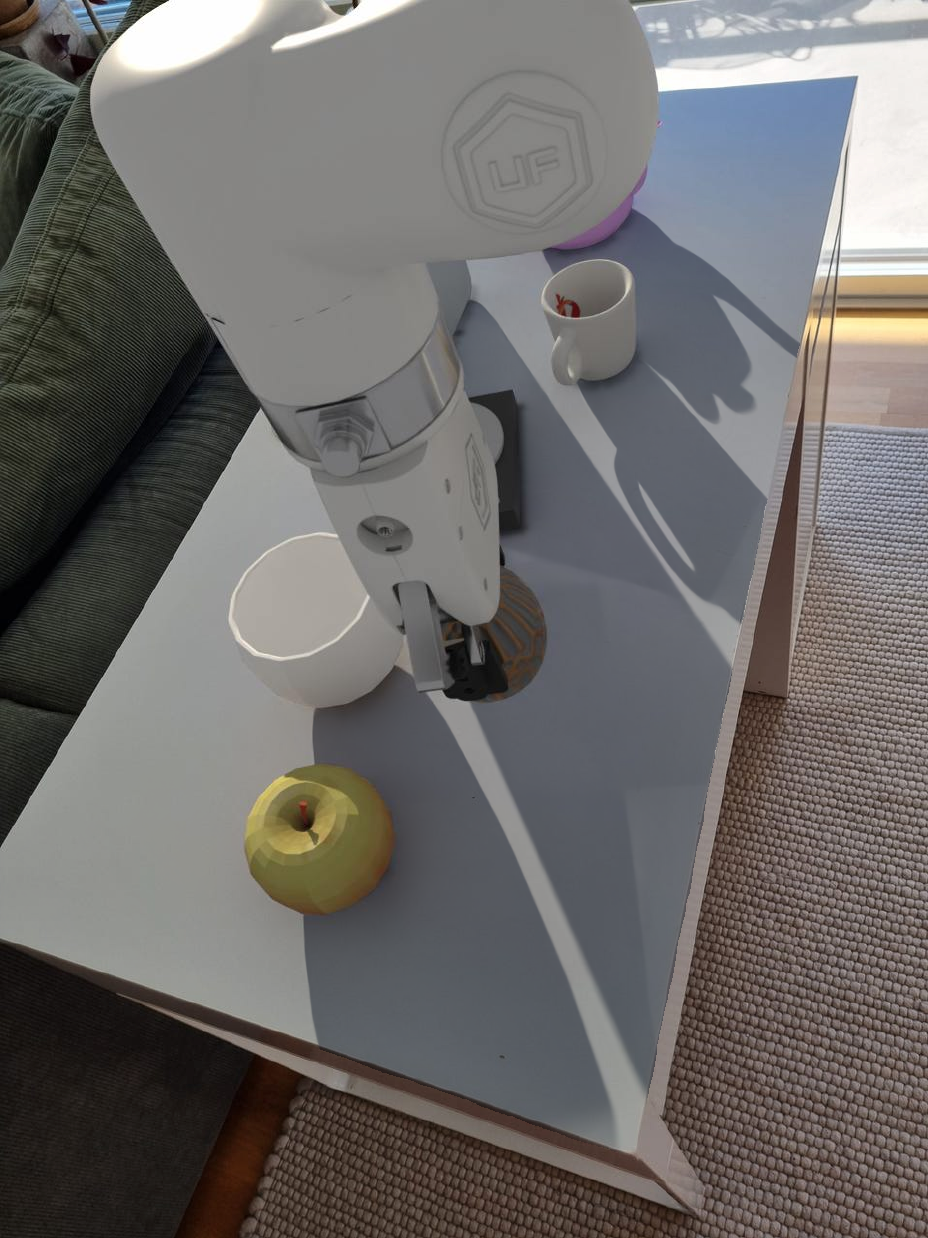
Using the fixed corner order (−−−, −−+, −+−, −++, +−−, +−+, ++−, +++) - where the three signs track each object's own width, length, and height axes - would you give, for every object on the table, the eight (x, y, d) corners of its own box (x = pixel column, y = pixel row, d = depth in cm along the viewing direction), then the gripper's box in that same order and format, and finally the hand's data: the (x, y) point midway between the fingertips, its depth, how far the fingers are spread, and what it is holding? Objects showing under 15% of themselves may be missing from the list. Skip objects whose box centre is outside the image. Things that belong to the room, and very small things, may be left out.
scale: (518, 408, 85) (511, 383, 83) (520, 528, 77) (512, 505, 75) (393, 431, 88) (382, 407, 85) (382, 549, 80) (370, 527, 78)
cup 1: (436, 597, 76) (398, 522, 68) (406, 735, 69) (360, 670, 62) (299, 598, 80) (248, 527, 72) (258, 729, 73) (198, 668, 65)
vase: (538, 598, 54) (502, 500, 47) (573, 696, 50) (539, 605, 43) (426, 638, 55) (374, 547, 48) (451, 739, 50) (399, 655, 43)
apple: (409, 784, 67) (371, 734, 61) (407, 921, 62) (365, 882, 55) (282, 800, 69) (232, 754, 63) (269, 935, 64) (213, 899, 57)
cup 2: (608, 421, 81) (594, 350, 75) (528, 405, 85) (509, 336, 79) (658, 337, 85) (649, 263, 79) (580, 325, 89) (565, 253, 83)
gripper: (450, 536, 29) (557, 772, 43) (455, 209, 39) (541, 489, 53) (231, 574, 31) (403, 789, 45) (288, 251, 40) (415, 512, 55)
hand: (477, 625), depth 49 cm, fingers closed on vase, 6 cm apart
